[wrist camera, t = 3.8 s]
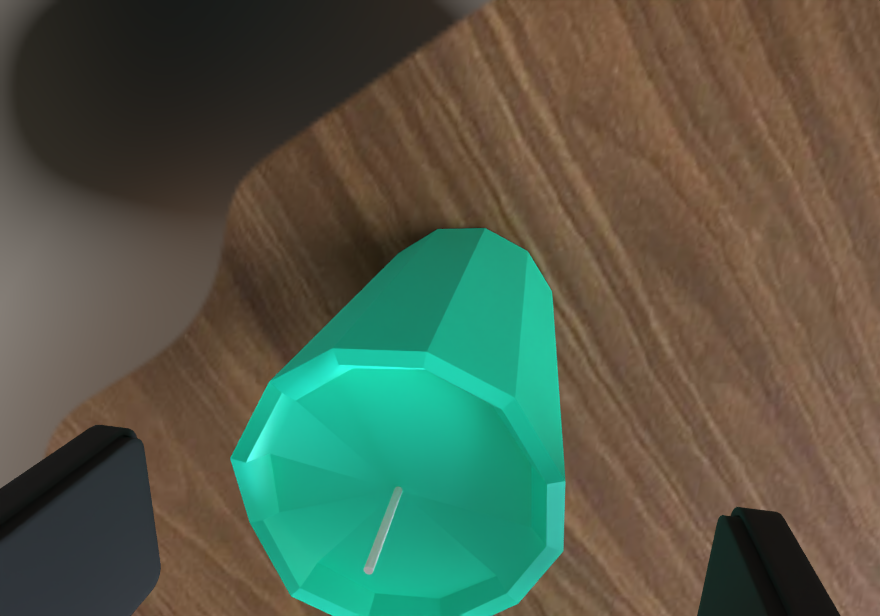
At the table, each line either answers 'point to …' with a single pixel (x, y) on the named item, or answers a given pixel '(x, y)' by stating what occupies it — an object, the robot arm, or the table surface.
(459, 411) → the candle
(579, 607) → the table surface
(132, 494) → the robot arm
